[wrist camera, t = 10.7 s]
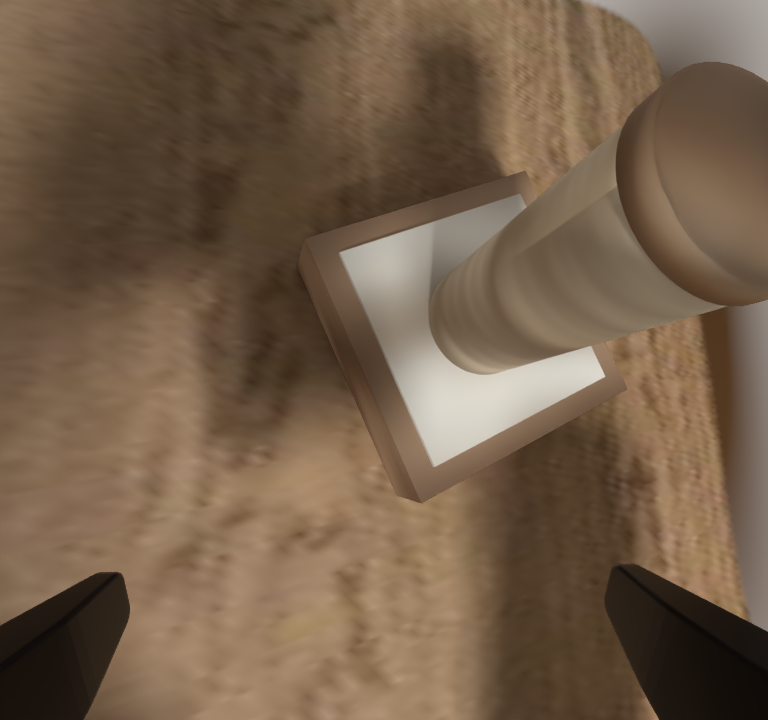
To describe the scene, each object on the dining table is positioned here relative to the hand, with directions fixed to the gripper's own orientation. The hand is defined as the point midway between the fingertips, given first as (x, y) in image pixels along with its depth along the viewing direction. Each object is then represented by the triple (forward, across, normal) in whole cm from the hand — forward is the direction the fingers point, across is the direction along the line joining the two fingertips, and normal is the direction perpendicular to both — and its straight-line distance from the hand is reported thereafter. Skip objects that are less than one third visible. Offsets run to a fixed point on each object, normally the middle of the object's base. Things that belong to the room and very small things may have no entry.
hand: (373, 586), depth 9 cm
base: (+15, +4, 0) cm, 15 cm away
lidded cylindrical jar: (+12, +5, +2) cm, 13 cm away
